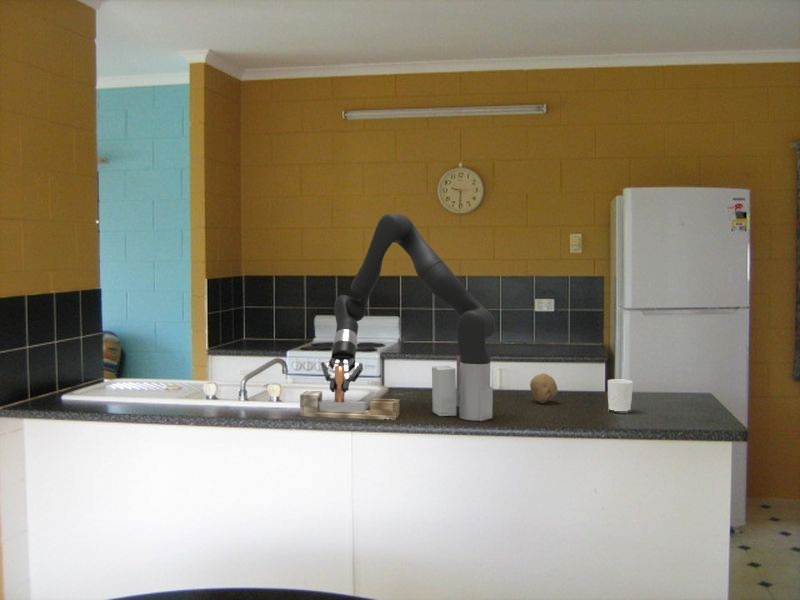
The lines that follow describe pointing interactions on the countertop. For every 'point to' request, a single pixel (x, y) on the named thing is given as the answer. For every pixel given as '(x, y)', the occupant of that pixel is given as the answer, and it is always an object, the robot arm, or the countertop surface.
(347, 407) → the copper rod stand
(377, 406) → the channel and socket
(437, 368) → the skincare box
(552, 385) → the tan round lump
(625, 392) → the white cup
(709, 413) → the countertop surface
